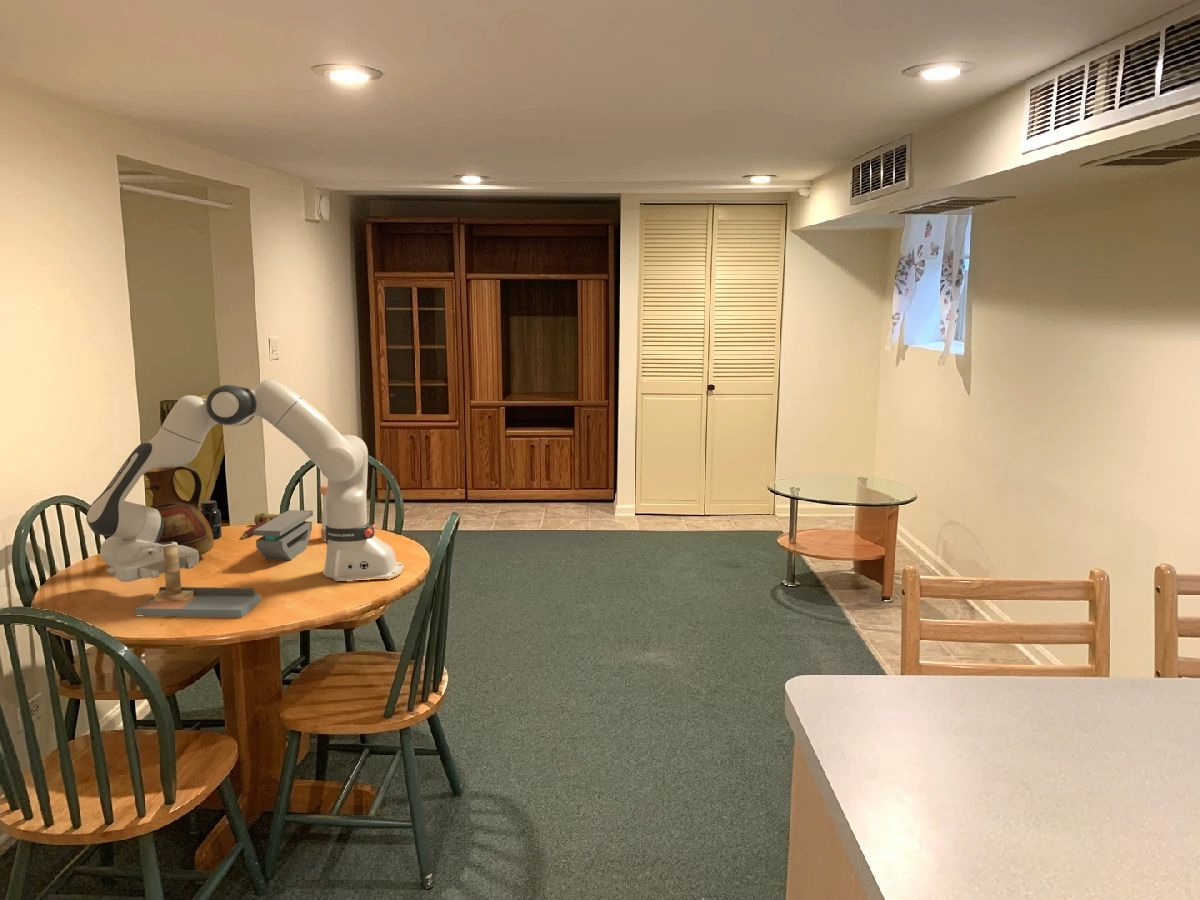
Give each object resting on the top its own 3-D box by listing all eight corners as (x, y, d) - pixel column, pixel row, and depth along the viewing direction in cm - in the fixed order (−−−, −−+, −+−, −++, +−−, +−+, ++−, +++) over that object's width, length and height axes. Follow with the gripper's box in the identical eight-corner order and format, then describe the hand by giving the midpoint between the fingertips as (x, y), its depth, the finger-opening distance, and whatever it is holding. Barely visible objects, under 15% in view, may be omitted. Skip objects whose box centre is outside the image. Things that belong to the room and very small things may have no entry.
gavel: (256, 531, 283) (227, 530, 285) (257, 545, 284) (228, 543, 286) (287, 512, 304) (260, 511, 305) (288, 524, 305) (261, 523, 306)
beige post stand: (193, 596, 225) (190, 545, 222) (186, 601, 221) (182, 549, 218) (162, 595, 225) (158, 544, 222) (154, 601, 221) (150, 549, 218)
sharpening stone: (290, 543, 281) (288, 510, 280) (314, 543, 281) (312, 510, 279) (255, 566, 257) (253, 530, 255) (281, 567, 256) (279, 531, 255)
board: (260, 600, 228) (259, 586, 227) (241, 617, 216) (240, 602, 215) (160, 599, 227) (158, 585, 227) (135, 616, 216) (134, 601, 215)
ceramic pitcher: (131, 558, 262) (123, 460, 257) (201, 547, 276) (195, 453, 271) (150, 574, 248) (142, 470, 243) (223, 561, 261) (217, 462, 256)
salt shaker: (317, 538, 287) (315, 481, 284) (339, 534, 292) (336, 478, 288) (326, 543, 282) (324, 484, 278) (348, 539, 286) (346, 482, 283)
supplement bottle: (220, 539, 284) (218, 503, 282) (197, 541, 282) (195, 504, 280) (223, 534, 291) (220, 499, 289) (200, 535, 289) (198, 500, 287)
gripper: (102, 558, 219) (132, 567, 212) (180, 540, 236) (210, 548, 229) (104, 582, 220) (134, 592, 213) (181, 562, 237) (211, 571, 230)
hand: (174, 569), depth 221 cm, fingers open, 8 cm apart
